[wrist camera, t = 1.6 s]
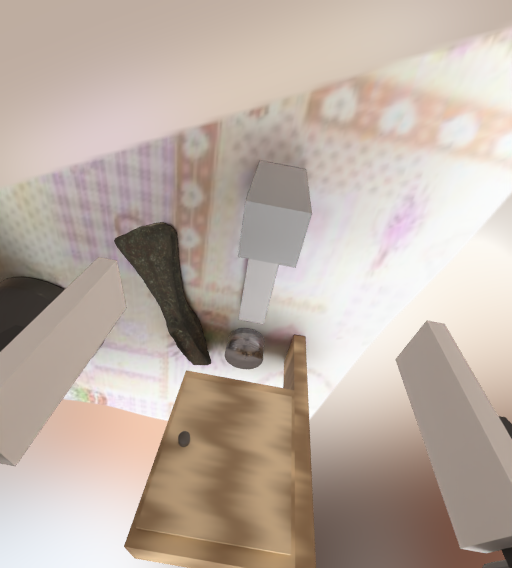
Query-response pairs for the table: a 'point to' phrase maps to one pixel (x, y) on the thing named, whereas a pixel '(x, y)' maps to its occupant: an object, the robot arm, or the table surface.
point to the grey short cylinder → (245, 348)
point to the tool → (166, 284)
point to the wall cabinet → (232, 476)
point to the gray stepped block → (271, 232)
